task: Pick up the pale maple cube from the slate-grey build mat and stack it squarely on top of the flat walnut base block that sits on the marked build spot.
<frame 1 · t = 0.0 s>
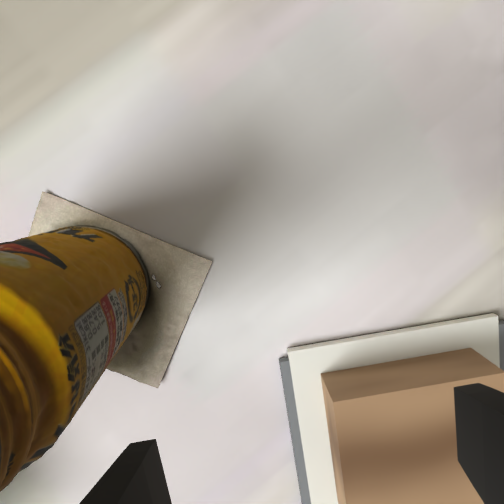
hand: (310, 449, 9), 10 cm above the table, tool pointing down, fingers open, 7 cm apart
walnut base: (401, 427, 20), resting on build mat
condiment: (106, 292, 18), on the table
build mat: (437, 476, 21), on the table
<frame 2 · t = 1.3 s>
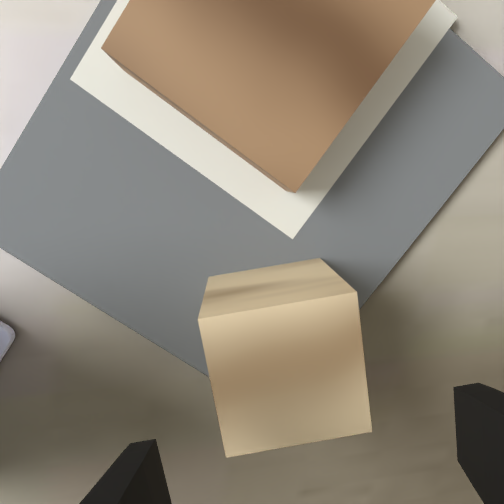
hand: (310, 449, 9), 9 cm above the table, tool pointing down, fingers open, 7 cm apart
maple cube: (272, 319, 17), resting on build mat
walnut base: (265, 47, 14), resting on build mat
build mat: (247, 163, 16), on the table
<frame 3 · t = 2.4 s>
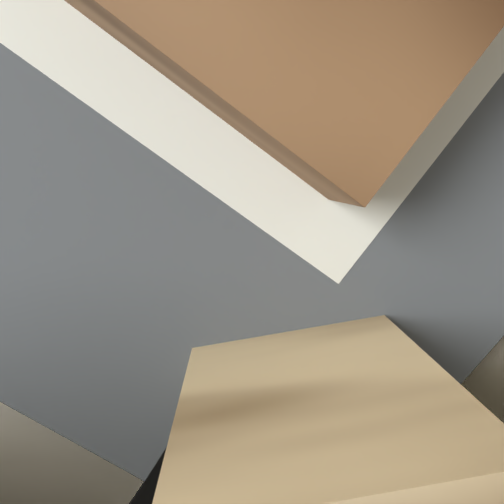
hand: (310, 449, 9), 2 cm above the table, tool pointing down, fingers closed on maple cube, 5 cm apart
maple cube: (301, 417, 10), resting on build mat, touching gripper
build mat: (259, 150, 9), on the table
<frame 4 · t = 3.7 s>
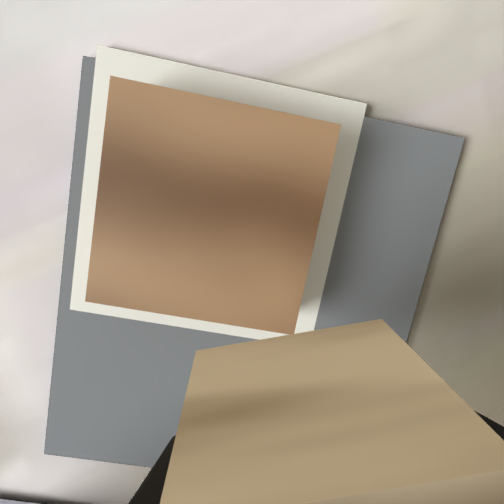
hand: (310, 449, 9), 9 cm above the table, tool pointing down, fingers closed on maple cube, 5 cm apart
maple cube: (301, 416, 10), point 7 cm above the table, touching gripper
walnut base: (213, 210, 16), resting on build mat
build mat: (241, 302, 17), on the table
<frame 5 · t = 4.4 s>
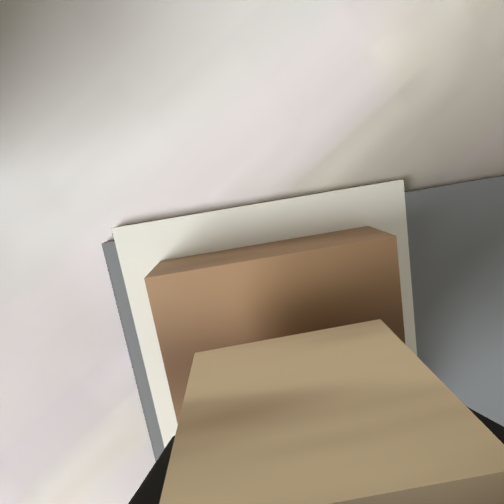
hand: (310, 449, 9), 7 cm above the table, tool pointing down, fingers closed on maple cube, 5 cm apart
maple cube: (301, 417, 10), point 5 cm above the table, touching gripper
walnut base: (279, 340, 15), resting on build mat
build mat: (337, 412, 16), on the table
when the fingers open (5 cm above the table, at t = 5.1 s): maple cube stays where it is, resting on walnut base.
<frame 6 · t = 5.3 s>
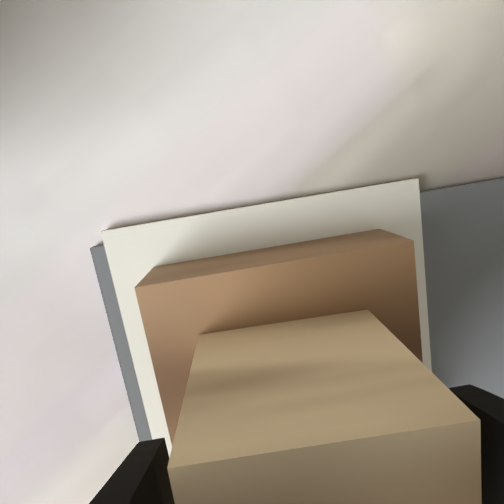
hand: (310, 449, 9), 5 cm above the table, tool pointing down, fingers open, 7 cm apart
maple cube: (293, 398, 11), point 3 cm above the table, touching walnut base
walnut base: (283, 352, 14), resting on build mat, touching maple cube
build mat: (344, 428, 15), on the table
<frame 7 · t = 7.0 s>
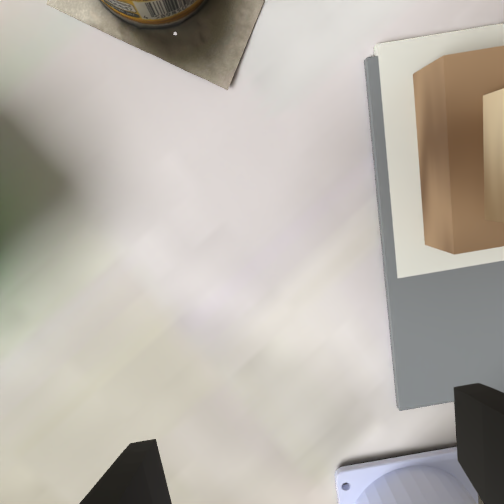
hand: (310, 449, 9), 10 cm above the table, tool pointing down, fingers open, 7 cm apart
walnut base: (501, 149, 17), resting on build mat, touching maple cube
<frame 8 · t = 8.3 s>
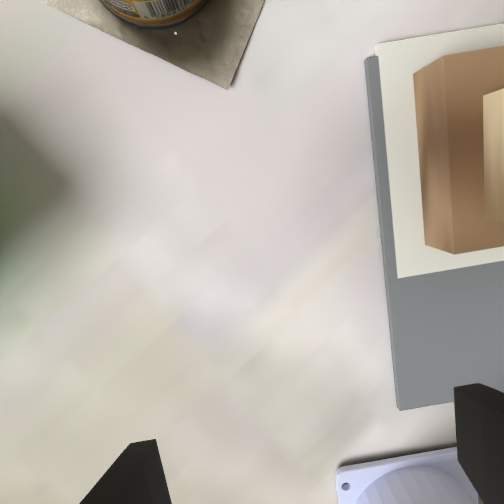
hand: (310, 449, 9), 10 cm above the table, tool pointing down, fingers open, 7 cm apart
walnut base: (501, 149, 17), resting on build mat, touching maple cube
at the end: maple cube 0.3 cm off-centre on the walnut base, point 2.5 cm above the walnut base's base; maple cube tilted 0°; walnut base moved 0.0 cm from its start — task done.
